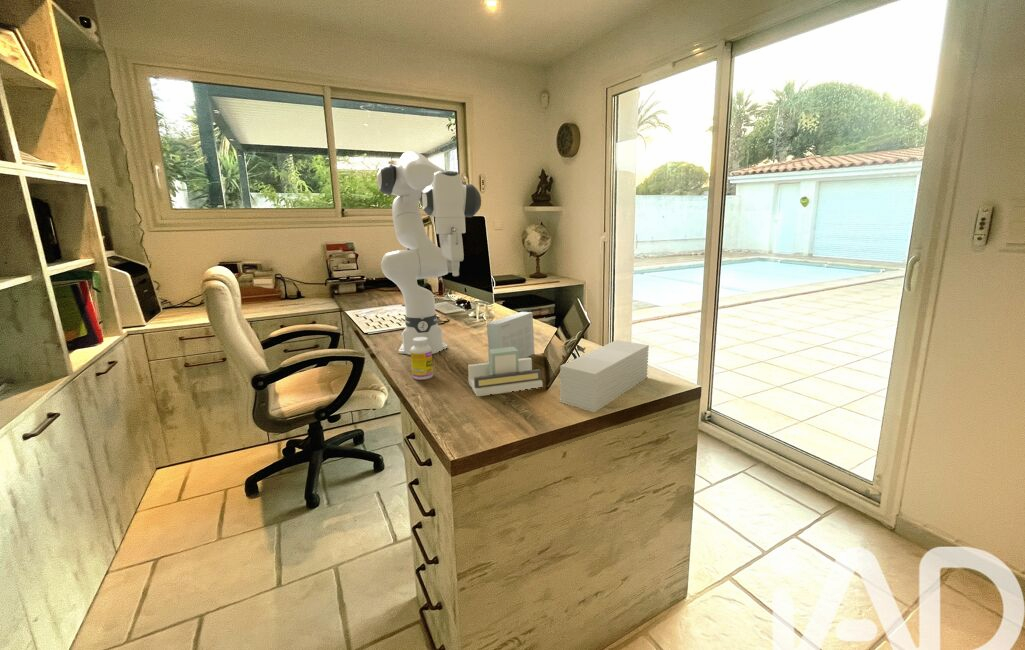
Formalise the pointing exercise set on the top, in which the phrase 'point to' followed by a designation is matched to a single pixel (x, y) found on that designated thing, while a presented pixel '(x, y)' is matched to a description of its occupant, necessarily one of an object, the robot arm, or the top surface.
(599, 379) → the stack of papers
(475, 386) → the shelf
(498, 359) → the product box
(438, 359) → the top surface
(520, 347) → the skincare box
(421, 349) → the supplement bottle
